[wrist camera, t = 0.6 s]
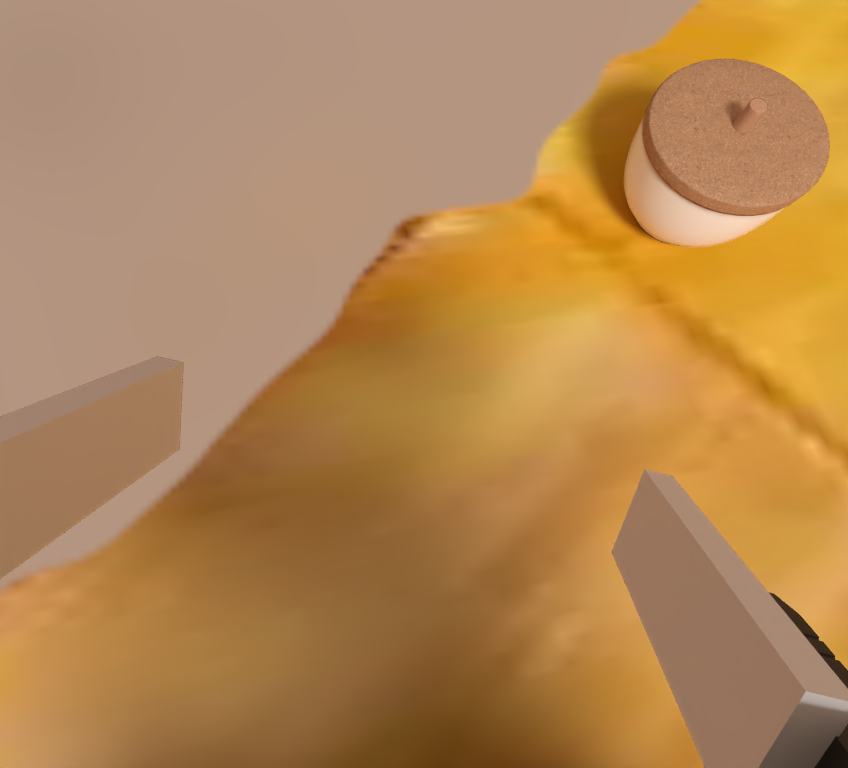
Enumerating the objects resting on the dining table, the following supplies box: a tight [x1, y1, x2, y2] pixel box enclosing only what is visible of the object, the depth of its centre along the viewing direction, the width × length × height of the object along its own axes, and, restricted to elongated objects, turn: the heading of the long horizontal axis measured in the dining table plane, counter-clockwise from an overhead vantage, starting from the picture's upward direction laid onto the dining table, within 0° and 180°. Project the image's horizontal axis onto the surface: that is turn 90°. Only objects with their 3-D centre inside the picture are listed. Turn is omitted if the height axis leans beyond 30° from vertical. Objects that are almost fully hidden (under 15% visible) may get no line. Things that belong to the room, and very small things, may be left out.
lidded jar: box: [624, 59, 830, 247], centre depth 31 cm, size 11×11×9 cm
